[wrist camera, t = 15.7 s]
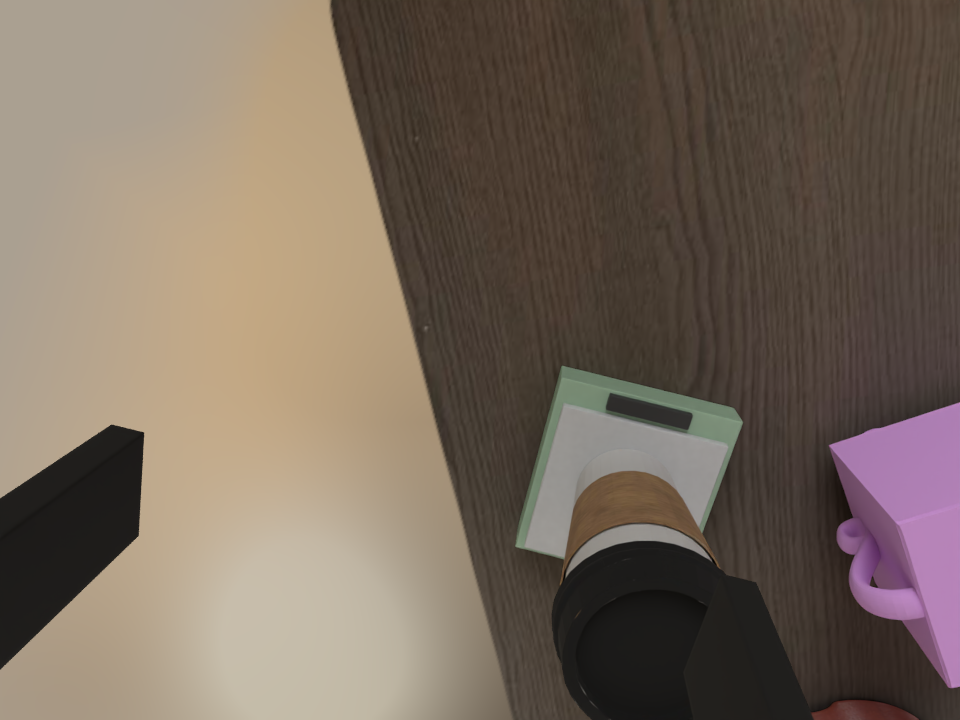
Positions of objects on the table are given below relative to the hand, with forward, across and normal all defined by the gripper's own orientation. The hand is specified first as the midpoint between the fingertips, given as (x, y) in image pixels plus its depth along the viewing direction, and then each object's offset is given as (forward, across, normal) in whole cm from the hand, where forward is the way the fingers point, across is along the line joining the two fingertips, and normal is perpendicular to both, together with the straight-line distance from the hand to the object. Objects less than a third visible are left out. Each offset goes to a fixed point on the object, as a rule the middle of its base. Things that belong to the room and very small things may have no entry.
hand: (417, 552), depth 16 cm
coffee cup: (+26, +10, -10) cm, 30 cm away
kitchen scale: (+29, +10, -10) cm, 32 cm away
